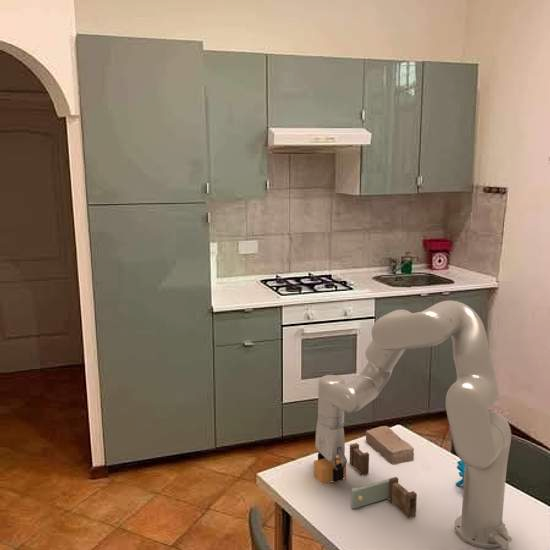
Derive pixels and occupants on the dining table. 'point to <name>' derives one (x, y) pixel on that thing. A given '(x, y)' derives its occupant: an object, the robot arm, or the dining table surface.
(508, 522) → the dining table surface
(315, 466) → the orange rectangular block
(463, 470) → the blue green toy
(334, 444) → the robot arm
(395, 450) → the brick
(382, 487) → the door
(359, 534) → the dining table surface
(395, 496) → the wall frame
